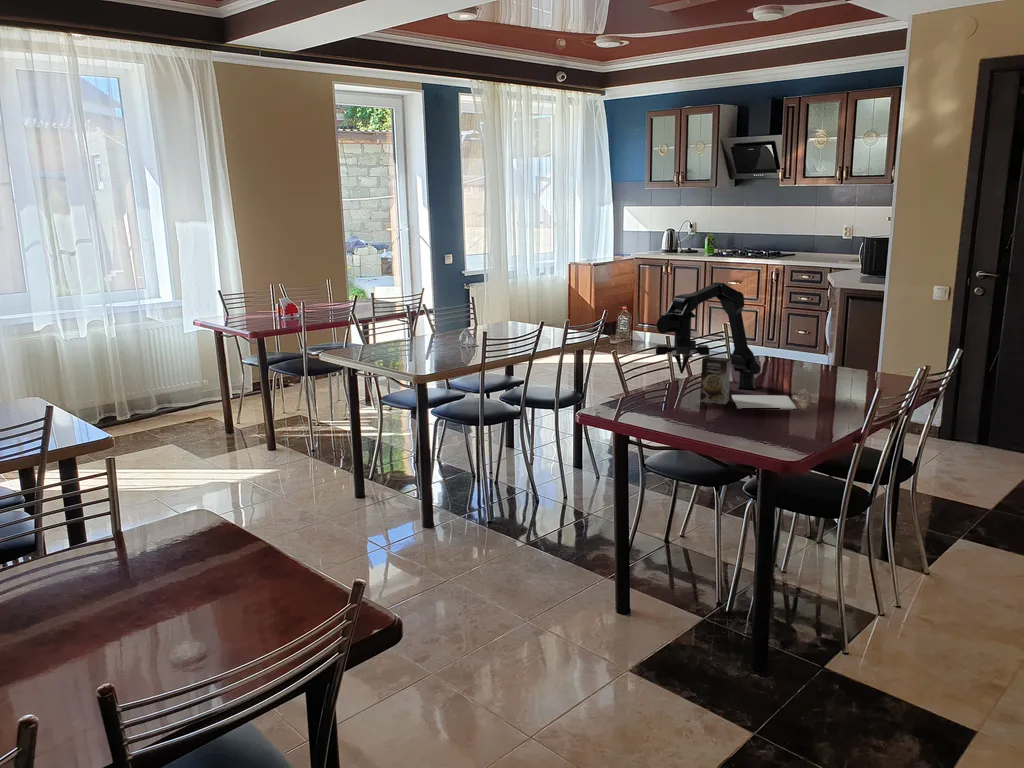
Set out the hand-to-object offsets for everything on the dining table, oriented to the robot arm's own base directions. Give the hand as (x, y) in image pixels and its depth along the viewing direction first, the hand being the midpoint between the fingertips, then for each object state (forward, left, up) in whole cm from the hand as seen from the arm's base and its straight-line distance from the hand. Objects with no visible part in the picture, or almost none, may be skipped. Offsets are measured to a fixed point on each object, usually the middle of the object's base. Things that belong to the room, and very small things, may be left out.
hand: (681, 373), depth 287 cm
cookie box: (0, +12, -11) cm, 16 cm away
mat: (0, +29, -10) cm, 31 cm away
